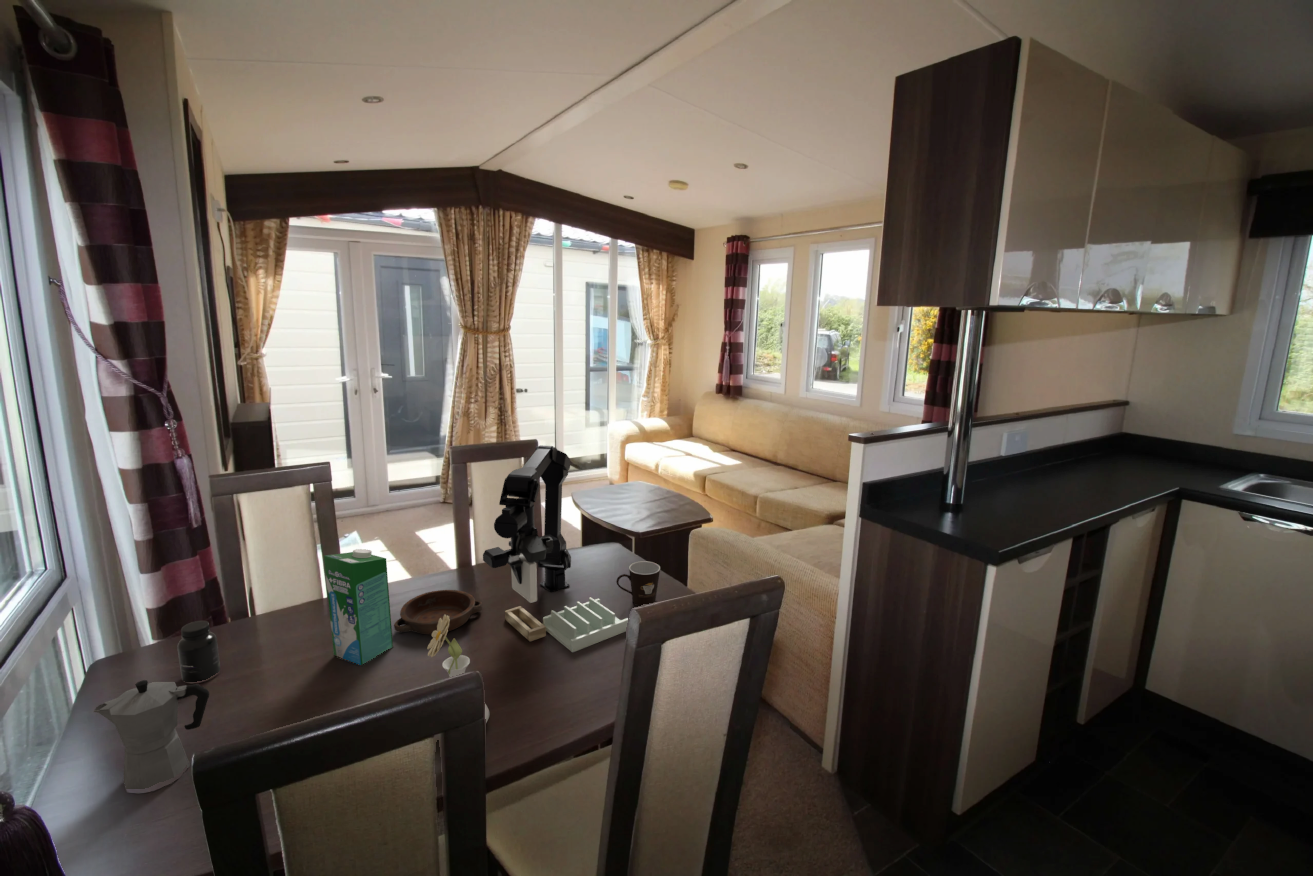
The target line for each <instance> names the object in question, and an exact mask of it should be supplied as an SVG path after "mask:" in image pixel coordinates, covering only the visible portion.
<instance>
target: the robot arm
mask: <svg viewBox="0 0 1313 876" xmlns="http://www.w3.org/2000/svg"><path fill="white" fill-rule="evenodd" d="M570 468H571V459H570V457H569V456H568V455H567V453H566V452H563V451H561V450H559V449H557V447H556V446H553V445H536V447H535V451H534V453H533V454H532V455H531V457H530V458H528V460H527V462H526V463H525V464H524V465H523V466H522V467H520V468H517V469H514V470H512V471H511V472H510V473H508V475H507V476H506V477H505V478H504V482H503V485H502V490H501V494H500V499H499V504H498V505H499V506H505V507H503V508H502V509H501V513H500V514H499V516H497V517H496V518H495V521H494V523H493V528H494V531H495V533H496V535H498V536H500V537H501V538H504V539H510V541H509V540H508V546H509V547H510V549H505V550H503V549H502V548H501V547H499V546H497V547H493V548H489V549H485V550H484V551H483V554H482V561H483V562H484V563H485V564H487V565H488V566H489V567H491V568H492V569H496V568H497V569H498V568H501V567H504V566H506V565H507V564H508V565H509V567H510V570H511V569H512V571H513V573H514V575H515V577H516V579H517V581H518V583H519V584H522V573H521V565H522V563H523V562H522V561H521V560H520V557H519V556H520V555H521V554H523V556H524V557H525V558H526V561H527V562H529V563H533V562H536V565H537V568H539V569H540V568H543V569H544V580H543V581H541V582H539V585H540V586H541V587H543V588H544V589H545V590H548V592H550V593H552V592H556V591H558V590H562V589H565V588H569V587H570V585H571V584H570V583H569V582H567V581H566V571H567V570H568V569H571V568H572V556H571V554H570V552H569V550H568V549H567V541H566V540H565V538H564V536H563V535H562V505H563V503H562V502H563V499H562V498H563V497H562V496H563V483H564V482H565V480H566V479H567V476H568V475H569V471H570ZM540 478H541V480H542V481H543V483H544V487H545V490H544V496H545V497H544V498H545V499H544V535H541V536H539V533H538V528H537V527H535V504H534V503H536V502H537V498H538V494H539V491H540V487H541V486H540V483H539V479H540Z"/></svg>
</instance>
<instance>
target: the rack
mask: <svg viewBox="0 0 1313 876" xmlns="http://www.w3.org/2000/svg"><path fill="white" fill-rule="evenodd" d="M542 617H543V616H542ZM627 623H628V617H626V618H624V619H619V618H618V617H617V616H616V613H615V612H613V611H612V610H610V609H609V608H608V607H606V606H604V605H603V604H601V599H600V598H595V599H594V598H593V597H588V601H586V602H583V603H581V602H580V601H576V606H572V607H568V605H564V606H563V610H560V611H558V612H556V611H555V610H554V609H553V610H552V609H551V611H550V614H549V615H546V616H544V617H543V618H542V624H543V625H544V626H545V627H546V633H549V634H550V635H551V636H552V637H553V638H554V639H556V641H558V642H559V643H560V644H562V645H563V646H564V647H565V648H566V649H567V650H569V651H570V652H571V653H575V652H577V651H580V650H582V649H586V648H587V647H590V646H592V645H595V644H597V643H599V642H604V641H605V640H607V639H610V638H613V637H615V636H617V635H620V634H623V633H626V632H627V631H626V627H627Z"/></svg>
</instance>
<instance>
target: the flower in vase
mask: <svg viewBox="0 0 1313 876" xmlns="http://www.w3.org/2000/svg"><path fill="white" fill-rule="evenodd" d="M449 622H450V619H449V616H446V615H444V616H443V620H442V619H441V618H440V619H439V621H438V625H437V631H433V632H432V634H431V637H432V639H431V640H430V641H429V643H428V645H427V648H426V649H427V650H428V652H427V657H431V659H432V658H433V657H436V655H437V653H439V651H440V649H441V648H442V646H443V645H444V641H446V642H447V644H448V645H449V646H448V648H447V653H448V654H449V655H450V657H448V658H446V659H445V660H444V661H442V664H441V665H442V668H443V669H444V670H445V671H446V672H447V674H448V676H449V677H448V678H450V677H452V676H456V675H459V674H462V673H464V674H465V672H466V670H467V668H468V666H469V664H470V663H471V659H470V657H468V656H467V655H463V654H462V653H463V649H462V648H461V646H460V644H459V643H458V641H457V640H456V638H453V639H452V640H451V641H450V640H449V638H448V637H447V634H448V632H449V631H448V627H449ZM489 718H490V710H489V708H488V705H487V704H486V703H485V719H486V723H487V722H488V720H489Z"/></svg>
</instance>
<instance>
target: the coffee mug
mask: <svg viewBox="0 0 1313 876" xmlns="http://www.w3.org/2000/svg"><path fill="white" fill-rule="evenodd" d="M628 571H629V574H626V573H624V574H621V575H619V576H618V577H617V578H616V581H615V582H616V585H617V586H618V588H620V589H621V590H622V591H624V592H626V593H628V594H630V595H631V599H632V603H633V602H634V603H633V604H634V605H635V604H636V606H638V607H640V606H639V605H643V604H649V603H653V602H655V603H656V601H657V600H656V599H657V594H658V593H657V591H658V587H659V586H658V585H659V579H660V574H661V566H660V564H657V563H655V562H653V561H649V560H648V561H646V560H645V561H644V560H643V561H642V560H641V561H636V562H633V563H631V564H630V565H629V567H628ZM624 577H625V578H627V579H628V580H629V582H630V589H631V590H629V589H626V588H625V587H623V586H621V585H620V583H619V582H620V579H621V578H624Z"/></svg>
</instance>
